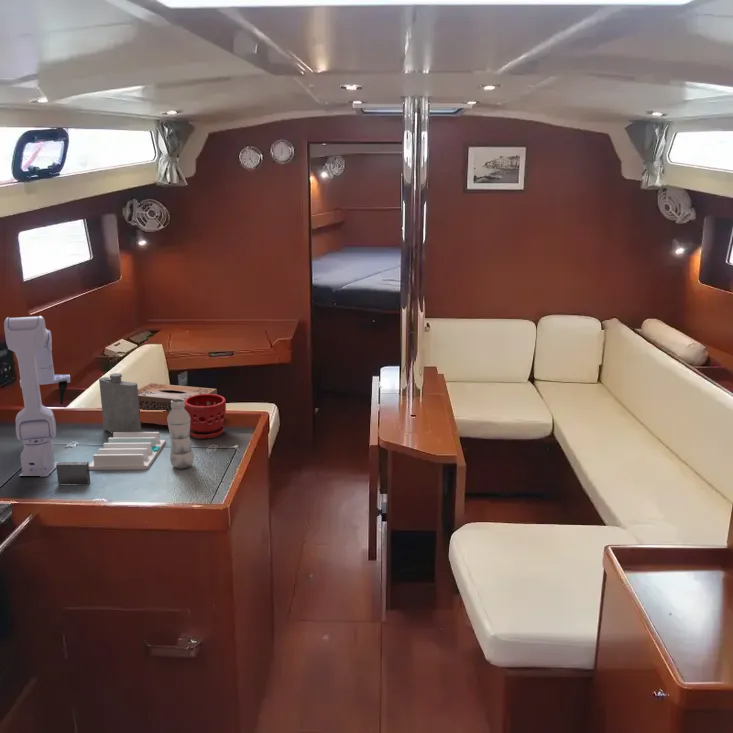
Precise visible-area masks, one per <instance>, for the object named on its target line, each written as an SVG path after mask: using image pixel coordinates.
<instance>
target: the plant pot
mask: <svg viewBox="0 0 733 733" xmlns="http://www.w3.org/2000/svg"><path fill="white" fill-rule="evenodd" d="M207 401H209V402H210V405H207V404H206V402H207ZM197 402H198V405H196V403H197ZM214 402H215V403H216V404H214ZM184 403H185V407H184V409H185V410H186V411H187V412H188V413H189V415H190V436H191V437H192V438H195V439H200V438H201V439H202V440H205V439H206V438H208V439H213V438H216V437H219V436H220V435H222V434H223V433H224V430H225V426H224V425H223V424H224V422H225V420H226V414H227V413H226V410H227V403H226V398H225V397H224V396H222V395H220V394H217V395H216V394H199V395H194V396H190V397H188V398H186V399H185V401H184ZM206 440H207V439H206Z"/></svg>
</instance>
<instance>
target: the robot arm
mask: <svg viewBox="0 0 733 733" xmlns="http://www.w3.org/2000/svg"><path fill="white" fill-rule="evenodd" d="M3 329H4V336H5V342H6V346H7V350H10V351H12V352H13V353H14V354H15V357H16V359H17V365H18V369H19V378H20V379H19V386H20V388H21V393H22V399H23V405H24V407H23V408H21V410H19V412H18V413H17V414H16V416H15V435H16V438H17V440H19V441H20V442H22V445H23V446H24V447H23V448H22V451H21V453H20V456H19V457H20V464H21V465H20V466H21V473H20V474H18V476H19V477H20V476H40V477H49V476H50V475H51V474H52V473H53V472H54V470H56V464H57V463H58V462H59V461H57V462H55V458H54V449H53V448H54V447H53V441H52V439H54V438H55V437H56V435H57V426H56V424H57V423H56V418H55V414H54V412H53V410H52V409H50V408H48V407H46V406H45V405H43V403H42V395H41V388H40V385H52V384H58V388H59V389H58V391H59V402H60V405H64V396H65V393H66V390H67V387H68V383H71V375H70V374H55V369H54V368H55V367H54V361H53V352H52V350H53V345H52V343H53V342H52V341H53V340H52V338H53V337H52V332H51V330H50V329H47V328H46V320H45V317H43V316H42V315H38V316H21V317H9V316H7V317H6V318H5V320H4V321H3ZM49 474H50V475H49Z"/></svg>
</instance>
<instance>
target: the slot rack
mask: <svg viewBox="0 0 733 733" xmlns="http://www.w3.org/2000/svg"><path fill="white" fill-rule="evenodd" d="M160 437H161V436H160V432H159V431H141V432H114V433H113V434H112V437H108V438H107V440H108V441H107V442H104V443H103V448H98V449H97V450H98V454H97V453H95V454H93V455H92V459H93V460H92V461H91V462H90V463H89V471H97V470H98V471H100V470H101V471H102V470H103V471H104V470H105V471H106V470H108V471H109V470H117V471H118V470H149V468H150V467H151V465H152V464H153V462H154V461H155V460H156V458H157V456H158V454H160V452H161V451H162V449H163V448H164V446H165V444H166V439H161V438H160Z"/></svg>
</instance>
